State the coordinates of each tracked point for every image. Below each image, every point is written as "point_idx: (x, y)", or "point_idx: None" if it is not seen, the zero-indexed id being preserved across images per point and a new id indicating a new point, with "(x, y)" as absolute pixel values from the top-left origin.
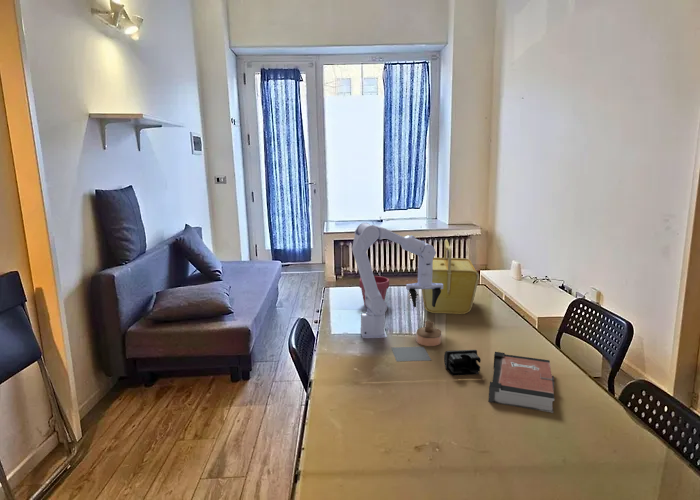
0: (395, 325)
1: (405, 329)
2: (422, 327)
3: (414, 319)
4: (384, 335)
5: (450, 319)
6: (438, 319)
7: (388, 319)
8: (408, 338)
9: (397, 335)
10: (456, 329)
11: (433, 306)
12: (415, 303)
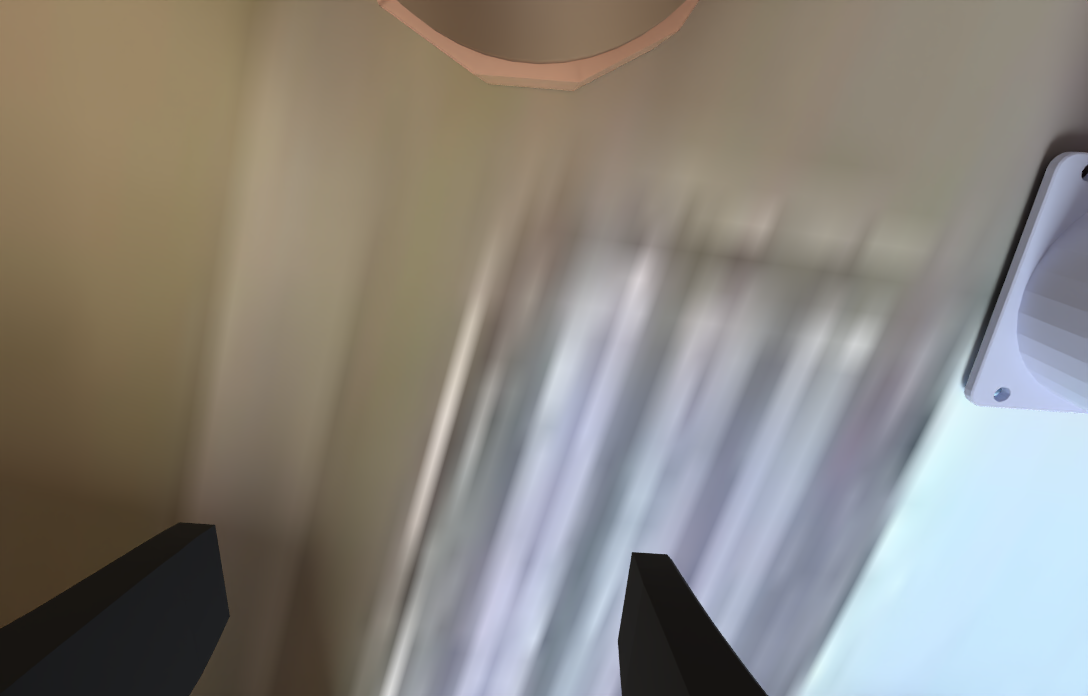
0: (753, 534)
1: (688, 411)
2: (605, 40)
3: (495, 654)
4: (1068, 209)
5: None
6: (244, 625)
7: None
8: (769, 104)
9: (864, 235)
10: (73, 327)
11: (203, 528)
12: (675, 618)
